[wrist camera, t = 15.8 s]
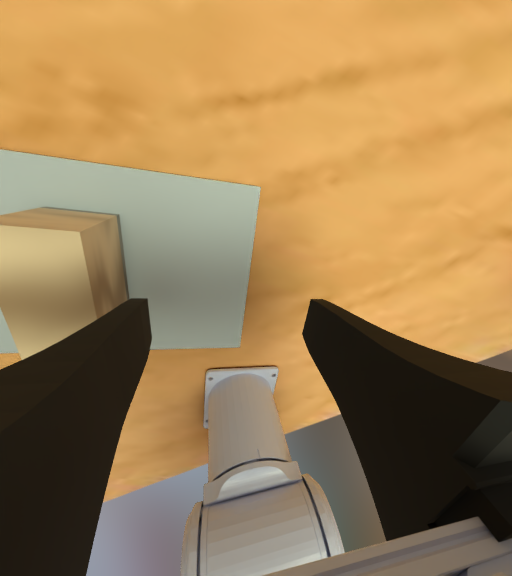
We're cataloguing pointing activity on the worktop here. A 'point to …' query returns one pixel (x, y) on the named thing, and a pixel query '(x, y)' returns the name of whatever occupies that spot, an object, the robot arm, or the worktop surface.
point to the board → (155, 239)
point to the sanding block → (58, 273)
